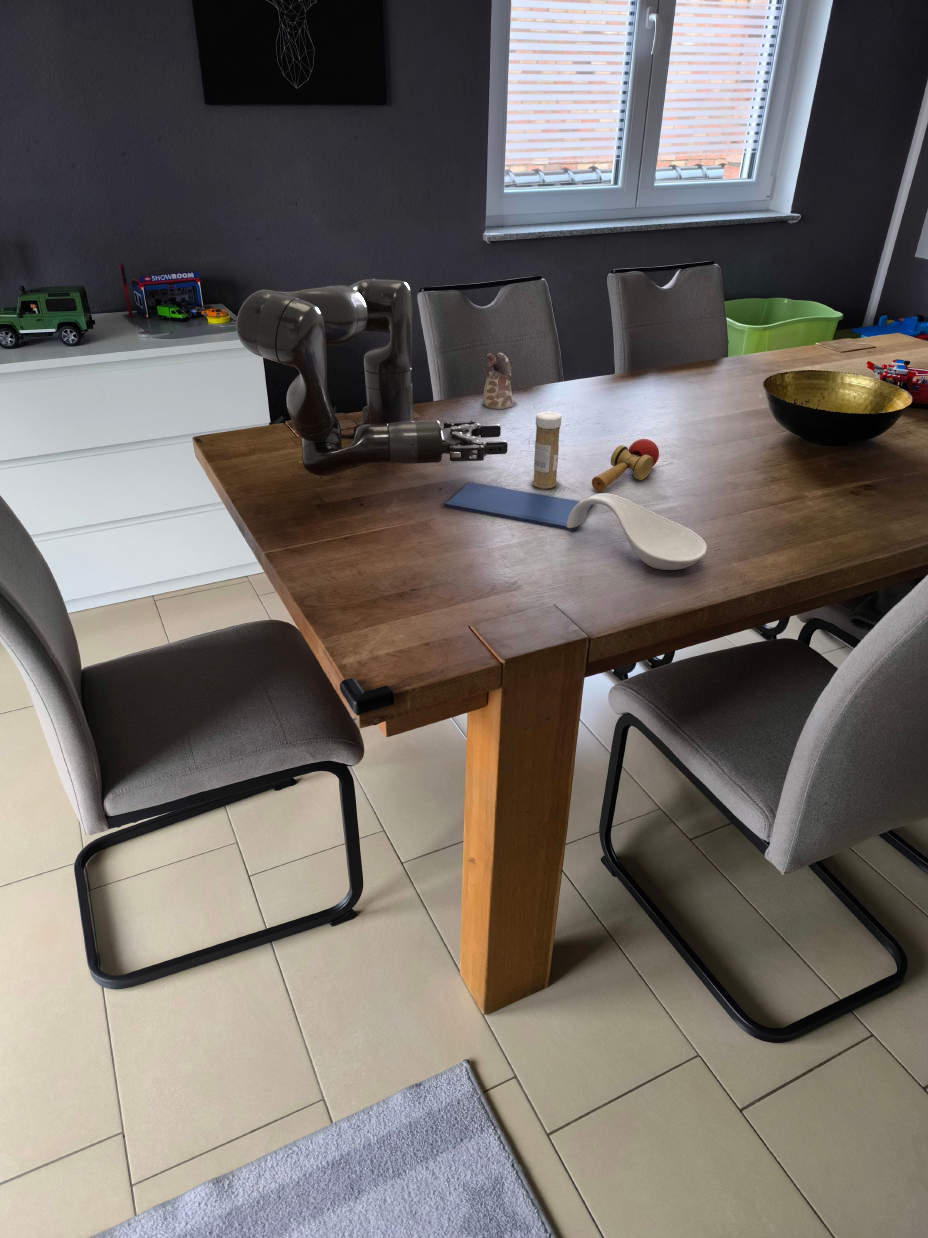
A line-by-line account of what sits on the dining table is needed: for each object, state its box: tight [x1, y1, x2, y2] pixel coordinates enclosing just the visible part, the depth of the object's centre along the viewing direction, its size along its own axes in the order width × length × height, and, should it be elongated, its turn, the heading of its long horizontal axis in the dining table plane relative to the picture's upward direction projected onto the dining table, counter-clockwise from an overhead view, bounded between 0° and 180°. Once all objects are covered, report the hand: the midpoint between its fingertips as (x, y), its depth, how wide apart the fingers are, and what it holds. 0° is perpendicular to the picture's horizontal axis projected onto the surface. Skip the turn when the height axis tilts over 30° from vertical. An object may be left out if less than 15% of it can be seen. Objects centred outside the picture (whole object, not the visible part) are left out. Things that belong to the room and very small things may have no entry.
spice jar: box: [532, 411, 562, 490], centre depth 153 cm, size 5×5×13 cm
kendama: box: [591, 438, 660, 493], centre depth 158 cm, size 8×6×18 cm
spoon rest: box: [566, 492, 708, 571], centre depth 132 cm, size 24×12×7 cm, turn 48°
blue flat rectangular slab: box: [444, 481, 594, 531], centre depth 148 cm, size 24×11×1 cm, turn 66°
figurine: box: [482, 352, 514, 410], centre depth 194 cm, size 7×7×12 cm
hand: (503, 438), depth 151 cm, fingers open, 8 cm apart
